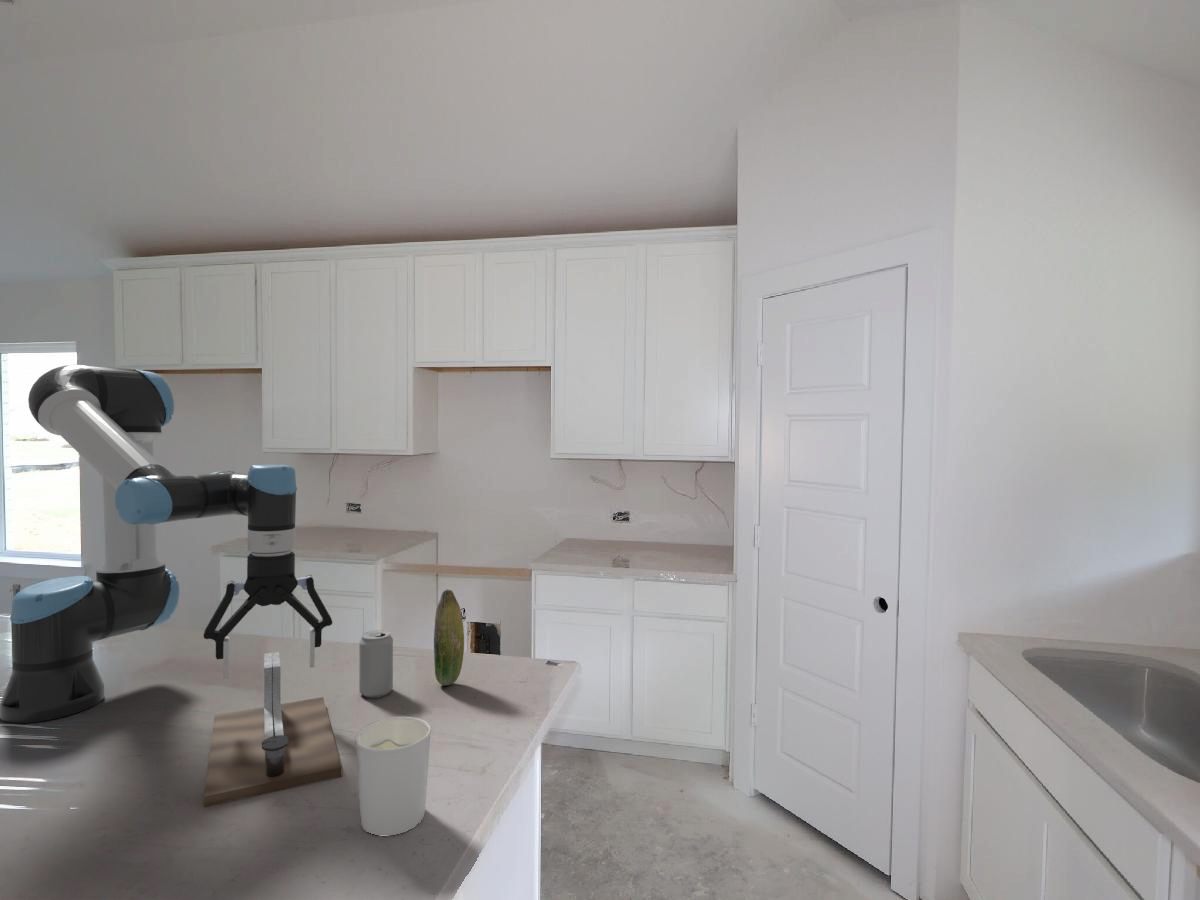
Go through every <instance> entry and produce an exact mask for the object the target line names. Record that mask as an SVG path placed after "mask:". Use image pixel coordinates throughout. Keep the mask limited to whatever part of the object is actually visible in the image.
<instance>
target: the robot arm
mask: <svg viewBox="0 0 1200 900" xmlns="http://www.w3.org/2000/svg"><path fill="white" fill-rule="evenodd" d="M27 399H28V401H27V402H28V408H29V411H30V414H31V415H32V417H33V418H34V420H35V421H36V422H37V423H38V424H39V425H40V426H41V427H42V428H43V429H44V430H45V431H47V432H48V433H49V434H52V435H56V436H60V437H62V439H63V440H64V441H66V442H67V443H68V445H70V446H71V448H73V449H74V450H75V451H76V452H77V453H78V454H79V455H80V456H81V457H82V458H83V459H85V461H86V462H87V463H88V464H89V465H91V467H92V468H94V469H95V470H96V471H97V472H98V473H99V474H100V475H101V476H102V491H103V492H102V494H103V495H102V496H103V500H102V501H103V526H104V527H103V530H104V556H105V557H104V559H105V560H104V561H103V563H101V564H100V565H99V566H98V567H97V568H96V569H95V571H96V573H95V574H96V575H95V576H96V578H95V579H96V580H92V578H91V577H90V576H87V575H70V576H66V577H57V578H52V579H48V580H44V581H41V582H37V583H34V584H31V585H29V586H27V587H24V588H22V589H21V590H19V591H18V592H17V593H16V594H15V595H14V596H13V598H12V602H11V611H10V612H11V614H10V616H9V620H10V622H11V623H10V626H11V627H10V628H11V631H10V632H11V664H12V665H11V667H12V669H11V670H12V671H11V674H10V676H9V677H10V678H9V679H8V680H9V681H7V685H6V687H5V689H4V692H3V695H2V698H1V700H0V720H1V721H3V722H8V723H14V724H24V723H38V722H44V721H45V722H46V721H50V720H54V719H55V720H56V719H59V718H64V717H68V716H71V715H73V714H78V713H80V712H83V711H86V710H87V709H90V708H92V707H93V706H96V705H97V704H98V703H100V702H102V701H103V699H104V698H105V683H104V682H103V679H102V676H101V674H100V672H99V670H98V667H97V665H96V664H95V661H94V656H93V651H94V650H93V646H94V645H93V643H94V642H97V641H101V640H104V639H109V638H113V637H116V636H120V635H125V634H129V633H134V632H137V631H145V630H147V629H150V628H153V627H156V626H159V625H162V624H164V623H166V622H167V621H168V620H169V619H170V618H171V617H172V615H174V613H175V611H176V609H177V607H178V605H179V604H178V603H179V600H180V583H179V581H178V580H177V575H176V574H175V572H174V571H172V570H170V569H167V568H166V562H165V561H164V560H163V559H161V558H160V557H159V556H158V555H157V537H156V536H157V535H156V534H157V533H156V531H157V530H156V525H157V524H162V523H170V522H176V521H186V520H193V519H203V518H211V517H221V516H228V515H229V516H231V515H236V516H237V515H239V516H245V517H247V551H248V552H249V554H248V555H247V557H246V558H247V559H246V563H247V564H246V565H247V567H246V580H245V581H244V582H235V581H234V580H232V579H231V580H229V581H228V582H227V583H226V589H225V593H224V595H223V597H222V599H221V601H220V603H219V604H218V606H217V608H216V610H215V612H214V614H213V615H212V617H211V619H210V620H209V623H208V624H207V625H206V627H205V629H204V632H203V639H204V640H213V641H214V642H215V658H216V660H222V661H223V662H222V663H223V664H222V665H223V667H222V668H223V669H222V670H223V671H222V680H228V679H229V674H230V673H229V668H230V666H229V665H230V663H229V662H230V660H229V659H230V636H229V635H230V634H231V632H232V631H233V629H235V627H236V626H237V625H238V624H239V623H240V622H241V621H242V619H243V618H245V616H246V615H247V614H248V613H249V612H250V611H251V610H252V609H253V608H254V607H255V606H256V605H258V606H261V607H267V606H270V605H274V606H278V605H279V606H280V605H282V604H284V603H285V602H286V603H287V604H288V605H289V606H290V607H292V609H293V610H294V611H296V613H298V614H299V615H300V616H301V617H302V618H303V619H304V620H305V621H306V622H307V623H308V624H309V626H311V627H309V629H308V630H309V631H308V664H309V665H308V666H309V668H315V658H316V655H315V651H316V649H315V648H320V647H321V646H322V631H323V629H324V628H326V627H330V626H332V625H333V619H332V617H331V615H330V613H329V612H328V610H327V608H326V606H325V605H324V603H323V601H322V599H321V597H320V595H319V593H318V592H317V590H316V588H315V582H314V578H313V576H312V575H311V574H307V575H305V576H303V577H299V578H296V576H295V575H296V573H295V571H296V570H295V567H296V554H295V553H294V550H295V548H296V507H297V506H296V505H297V503H296V501H297V500H296V499H297V491H298V490H297V489H298V488H297V482H296V469H295V468H294V467H293V466H292V465H287V464H274V463H273V464H269V463H268V464H254V465H251V466H250V467H249V468H248V473H240V472H235V471H231V470H229V471H228V470H227V471H214V472H211V473H208V474H190V475H176V474H173V473H172V472H170V470H169V469H167V468H166V467H164V465H162V463H160V462H159V461H158V460H157V459H156V458H155V457H154V442H155V440H157V439H158V438H159V437H160V436H161V435H162V427H164V426H166V425H168V424H169V423H170V422H171V420H172V419H173V418H172V416H173V415H174V411H175V401H174V400H175V399H174V395H173V392H172V390H171V388H170V386H169V384H168V383H167V382H166V380H164V378H163V377H162V376H161V375H160V374H158V373H155V372H152V371H148V370H141V369H137V368H135V369H134V368H121V367H119V368H118V367H108V366H107V367H106V366H92V365H91V366H90V365H85V364H84V365H82V364H69V365H67V364H66V365H61V366H58V367H55V368H52V369H50V370H48V371H47V372H45V373H43V374H42V375H41V376H39V377H38V378H37V379H36V381H35V382H34V383H33V384H32V386H31V388H30V390H29V394H28V398H27ZM298 586H300V587H301V588H302V590H306V591H307V593H308V595H309V597H310V599H311V601H312V603H313V604H314V606H315V608H316V609H317V612H318V613H319V615H320V617H321V618H320V619H318V618H317V617H316V616H315V615H314V614H313V613H312V612H311V611H310V610H309V609H308V608H307V607H306V606H305V605H304V604H303V603H302V602H301V601H300V600H299V599H298V598H297V597H296V596H295V595H294V594H293V592H294V591H295V590H296V588H297V587H298ZM242 590H244V592H245V593H246V594H247V596H248V597H247V598H246V599H245V601H244V602H243V603H242V604H241V605H240V607H239V608H238V609H237V610H235V612H234V614H232V615H231V616H230V617H229V618H228V620H227V621H226V622H225V623H224V624H223V625H222V626H221V627H220V628H219V630H217V627H218V626H219V623H220V622H221V620H222V619H223V617H224V615H225V613H226V612H227V610H228V607H229V606H230V604H231V603H232V601H233V598H234V596H238V595H239V594H240V591H242Z"/></svg>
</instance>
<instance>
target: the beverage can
mask: <svg viewBox="0 0 1200 900" xmlns="http://www.w3.org/2000/svg"><path fill="white" fill-rule="evenodd" d="M391 635H392V632H390V631H389V630H384V629H379V630H371V631H365V632H364V633H362V634H361V636H360V637H361V639H359V643H358V644H359V645H358V646H359V647H358V648H359V657H358V661H359V665H358V667H359V668H358V669H359V672H358V673H359V677H358V681H359V682H358V683H359V685H358V686H359V688H358V689H359V693H360V695H362V696H364V697H365V698H370V699H371V698H372V699H373V698H375V699H376V698H381V697H384V696H387V695H388V694H390V692H391V691H392V690H393V686H394V680H393V679H394V677H393V676H394V669H393V667H394V666H393V665H394V638H393V637H392V636H391Z"/></svg>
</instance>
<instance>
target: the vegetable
mask: <svg viewBox="0 0 1200 900" xmlns="http://www.w3.org/2000/svg"><path fill="white" fill-rule="evenodd" d="M462 617H463V615H462V611H461V606H460V604H459V602H458V600H457V598H456V596H455V594H454V591H453V590H451V589H448V588H447V589H445V590H443V591H442V594H441V596H440V599H439V602H438V604H437V607H436V611H435V617H434V631H433V658H434V675H435V678H436V680H437V683H439V684H440V685H441V686H450V685H453V684H454V683H456V681H457V680H458V678H459V676H460V674H461V670H462V666H463V661H464V655H465V654H464V653H465V631H464V630H465V629H464V622H463V618H462Z"/></svg>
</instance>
